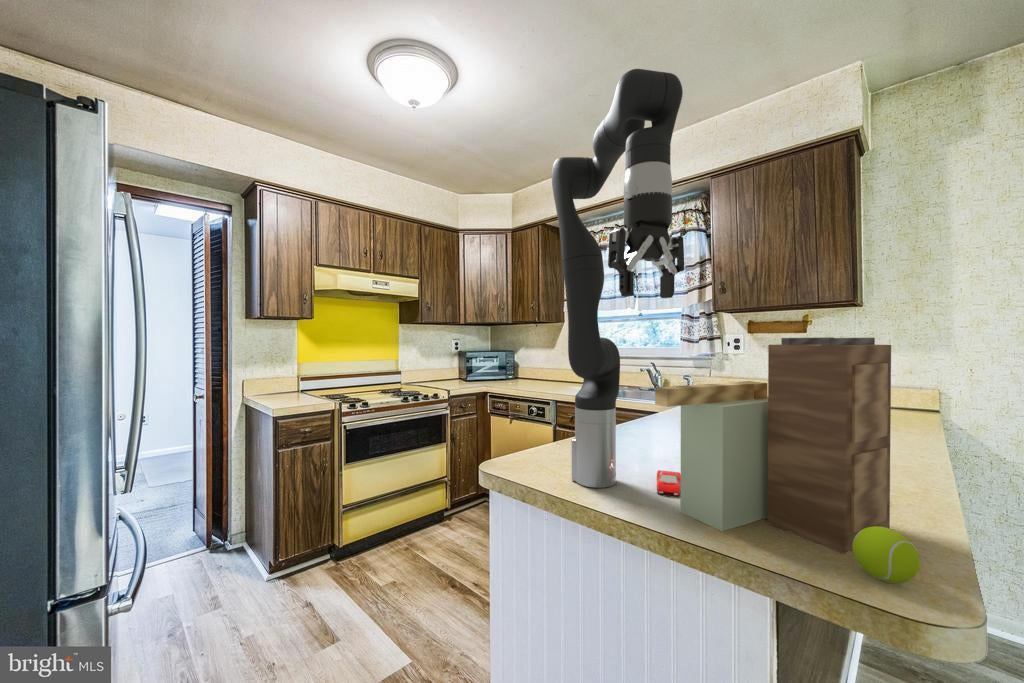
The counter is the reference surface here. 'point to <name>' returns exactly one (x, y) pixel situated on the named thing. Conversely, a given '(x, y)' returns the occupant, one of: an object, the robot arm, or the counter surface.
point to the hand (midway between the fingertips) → (647, 297)
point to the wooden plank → (710, 393)
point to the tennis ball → (886, 554)
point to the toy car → (668, 483)
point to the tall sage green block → (725, 462)
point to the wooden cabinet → (829, 438)
